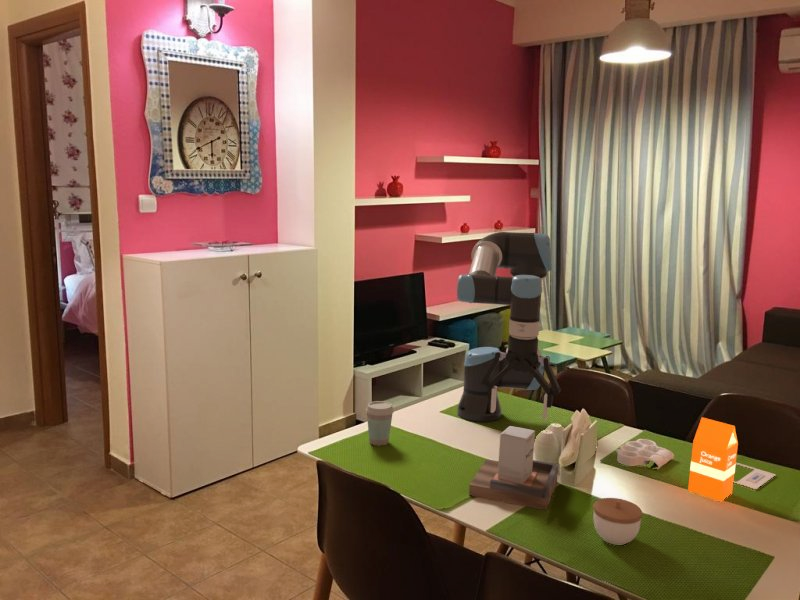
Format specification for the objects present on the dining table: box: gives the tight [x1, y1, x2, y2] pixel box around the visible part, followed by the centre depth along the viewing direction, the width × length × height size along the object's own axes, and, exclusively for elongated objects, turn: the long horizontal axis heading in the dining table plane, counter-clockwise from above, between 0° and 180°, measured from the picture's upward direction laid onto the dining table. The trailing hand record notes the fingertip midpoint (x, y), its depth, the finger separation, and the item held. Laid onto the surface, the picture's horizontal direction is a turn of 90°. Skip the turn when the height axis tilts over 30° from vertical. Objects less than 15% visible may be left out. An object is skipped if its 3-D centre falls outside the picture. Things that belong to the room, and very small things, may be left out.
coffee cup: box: [365, 400, 394, 447], centre depth 217 cm, size 8×8×12 cm
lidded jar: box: [592, 497, 643, 545], centre depth 163 cm, size 11×11×9 cm
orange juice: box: [687, 417, 739, 503], centre depth 188 cm, size 8×9×20 cm
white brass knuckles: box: [614, 438, 675, 470], centre depth 211 cm, size 3×18×15 cm
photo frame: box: [733, 461, 777, 490], centre depth 203 cm, size 15×1×18 cm
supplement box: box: [498, 425, 536, 484], centre depth 187 cm, size 7×7×13 cm
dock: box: [468, 458, 559, 511], centre depth 189 cm, size 18×20×5 cm
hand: (518, 414), depth 186 cm, fingers open, 13 cm apart
